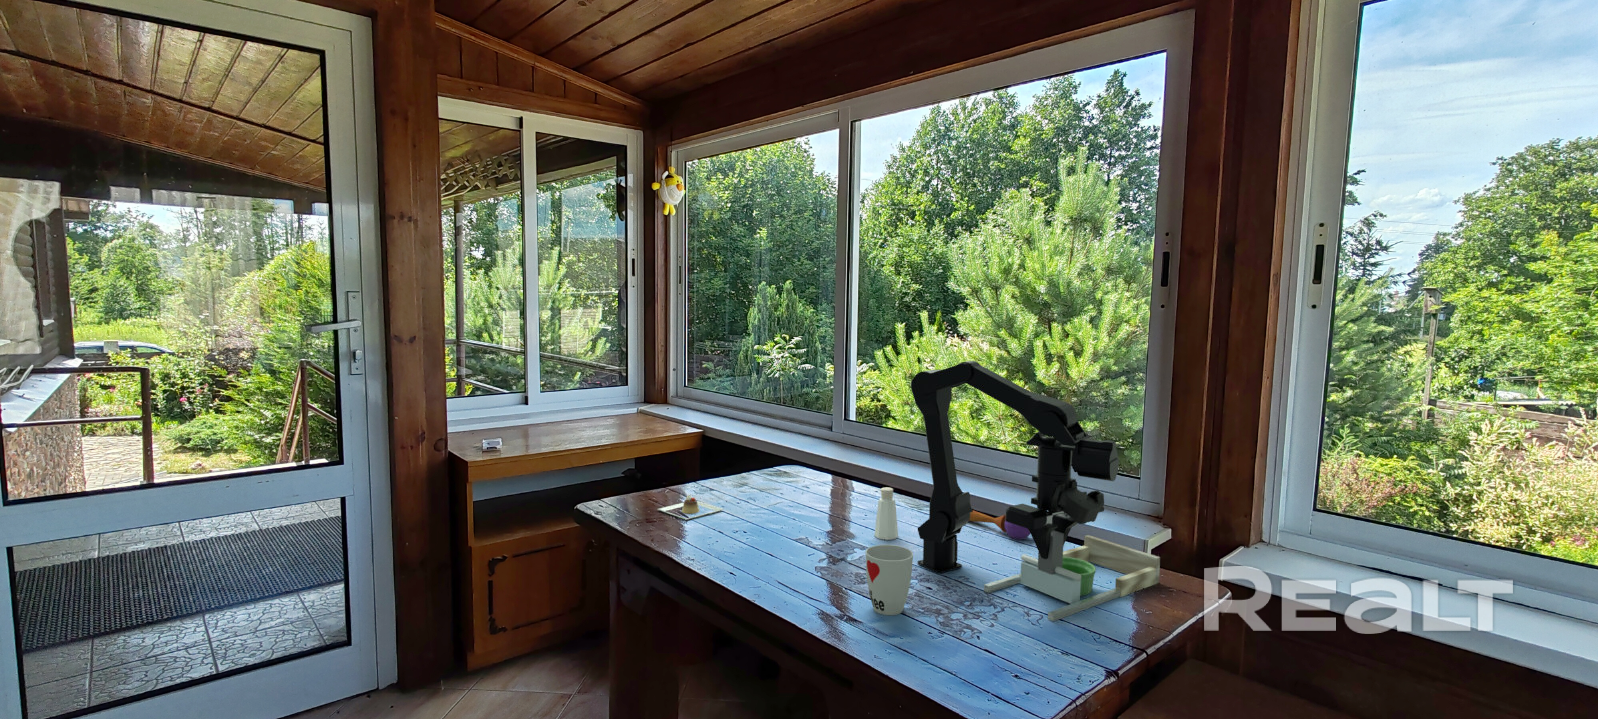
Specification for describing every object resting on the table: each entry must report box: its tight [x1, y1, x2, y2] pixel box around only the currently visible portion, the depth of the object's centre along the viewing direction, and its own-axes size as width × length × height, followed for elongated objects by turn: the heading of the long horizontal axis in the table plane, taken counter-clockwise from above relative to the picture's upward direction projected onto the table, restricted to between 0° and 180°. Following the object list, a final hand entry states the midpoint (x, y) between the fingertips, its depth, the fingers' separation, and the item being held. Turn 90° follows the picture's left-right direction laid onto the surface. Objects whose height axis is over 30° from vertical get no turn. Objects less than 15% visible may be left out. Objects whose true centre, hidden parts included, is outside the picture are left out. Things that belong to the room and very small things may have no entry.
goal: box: [983, 534, 1161, 622], centre depth 133 cm, size 31×15×5 cm, turn 123°
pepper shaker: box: [874, 486, 899, 541], centre depth 161 cm, size 5×5×11 cm
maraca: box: [968, 509, 1031, 541], centre depth 167 cm, size 6×6×20 cm
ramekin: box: [1062, 557, 1097, 597], centre depth 133 cm, size 9×9×4 cm
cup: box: [865, 544, 914, 616], centre depth 123 cm, size 8×8×10 cm
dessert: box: [657, 494, 725, 521], centre depth 180 cm, size 12×12×5 cm
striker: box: [1019, 530, 1081, 605], centre depth 129 cm, size 3×12×11 cm, turn 33°
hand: (1050, 556), depth 129 cm, fingers open, 3 cm apart
